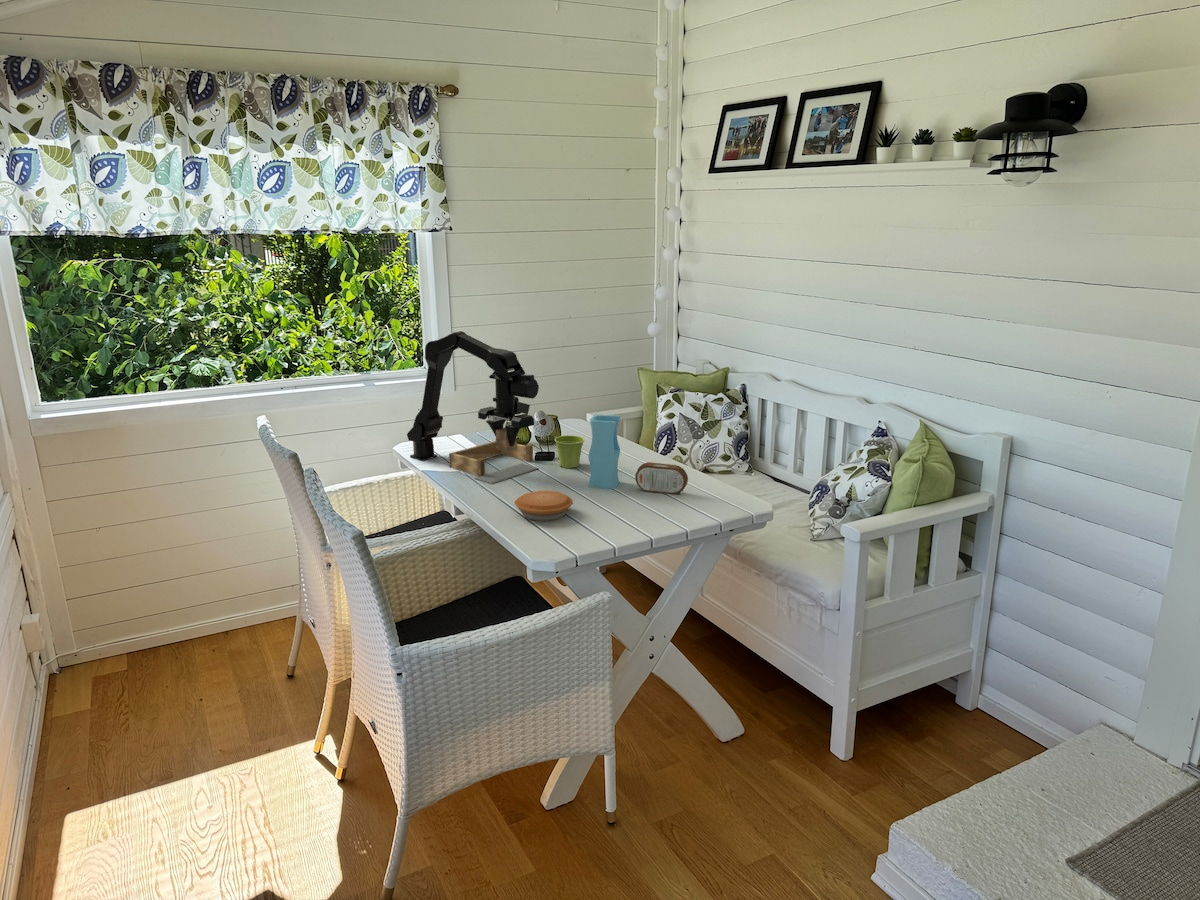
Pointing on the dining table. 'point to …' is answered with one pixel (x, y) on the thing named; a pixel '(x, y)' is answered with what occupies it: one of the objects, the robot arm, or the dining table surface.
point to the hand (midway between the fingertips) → (506, 444)
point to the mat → (506, 473)
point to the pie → (543, 505)
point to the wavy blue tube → (604, 452)
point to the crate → (474, 457)
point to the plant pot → (569, 450)
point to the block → (504, 440)
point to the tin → (661, 478)
